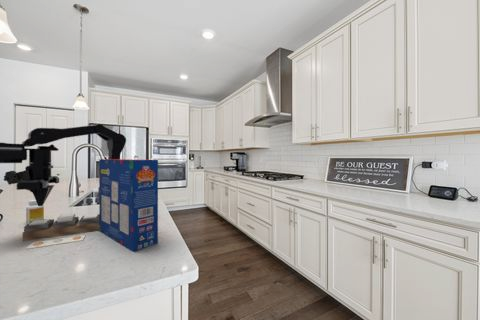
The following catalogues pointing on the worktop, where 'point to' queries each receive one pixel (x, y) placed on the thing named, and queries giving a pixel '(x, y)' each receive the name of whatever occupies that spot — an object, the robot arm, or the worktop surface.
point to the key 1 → (39, 222)
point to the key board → (60, 228)
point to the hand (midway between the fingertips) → (40, 205)
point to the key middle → (66, 217)
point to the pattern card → (56, 242)
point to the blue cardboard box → (129, 202)
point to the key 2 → (90, 216)
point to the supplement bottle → (34, 212)
